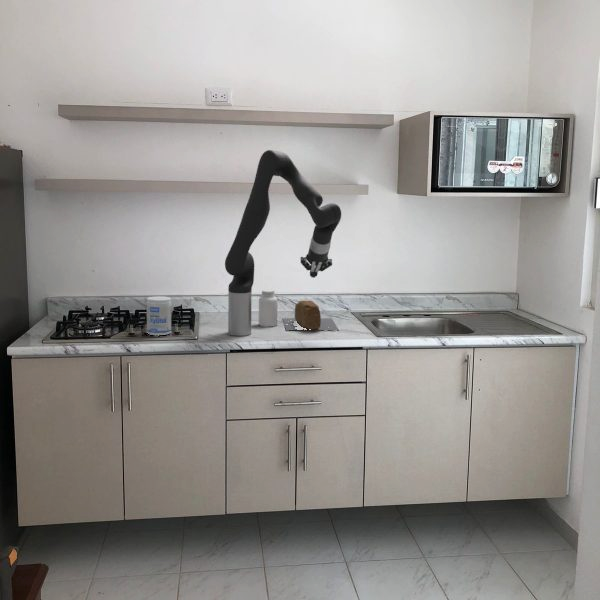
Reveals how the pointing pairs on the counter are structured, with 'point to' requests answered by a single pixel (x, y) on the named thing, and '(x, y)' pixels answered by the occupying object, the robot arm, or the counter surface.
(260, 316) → the pill bottle
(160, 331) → the supplement tub
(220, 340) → the counter surface
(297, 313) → the brown rounded chunk
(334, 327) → the mat
